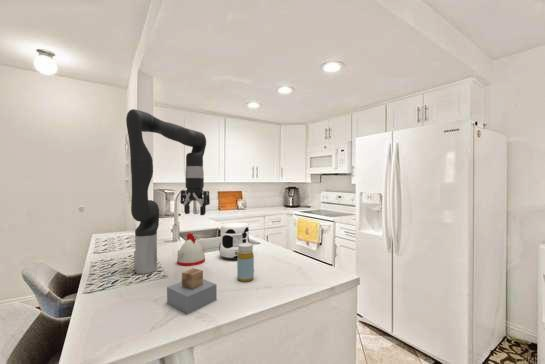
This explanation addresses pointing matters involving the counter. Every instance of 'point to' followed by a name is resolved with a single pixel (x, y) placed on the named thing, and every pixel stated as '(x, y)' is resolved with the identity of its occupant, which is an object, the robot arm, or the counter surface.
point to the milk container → (233, 238)
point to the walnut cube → (192, 278)
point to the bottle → (245, 262)
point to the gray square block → (191, 296)
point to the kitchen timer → (190, 252)
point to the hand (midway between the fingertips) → (194, 214)
